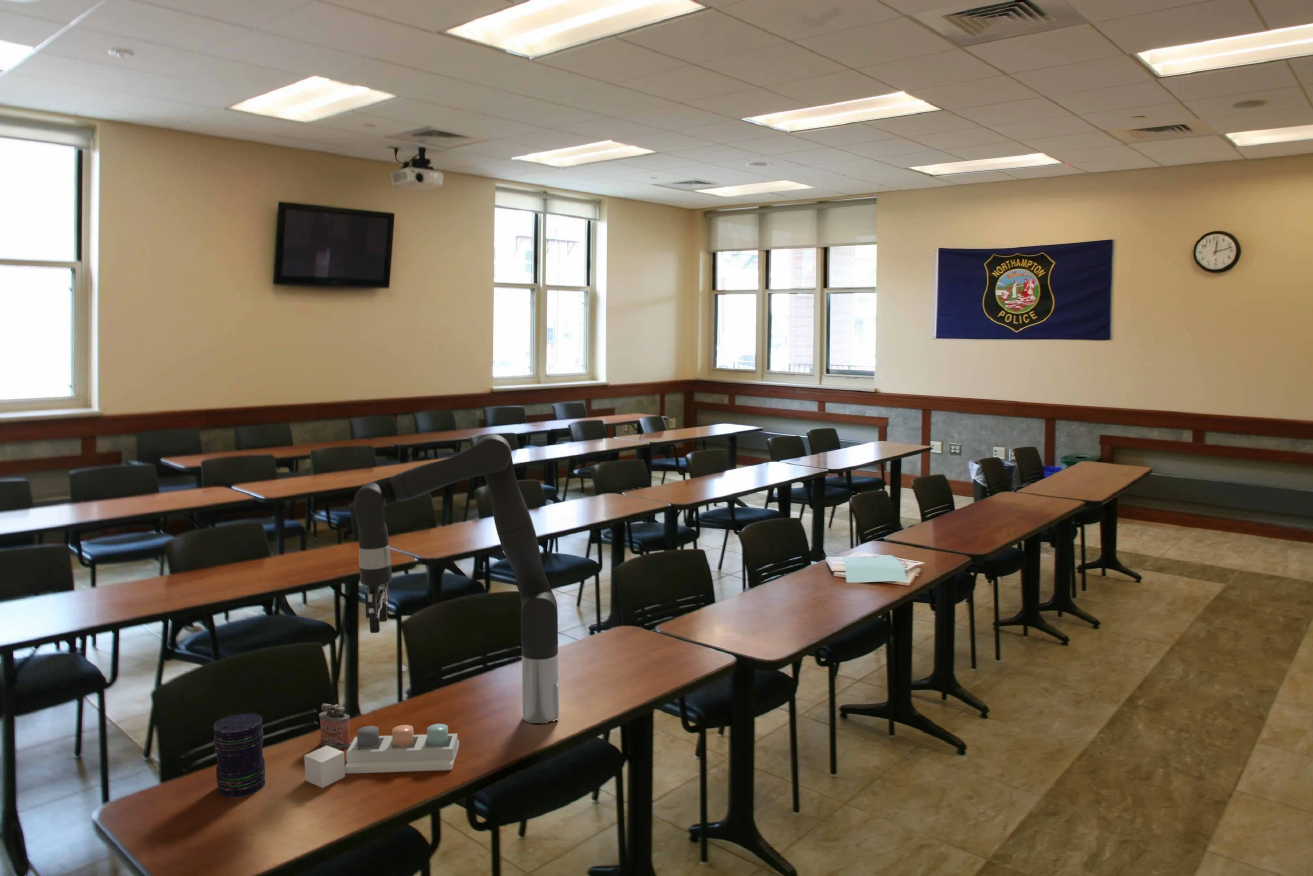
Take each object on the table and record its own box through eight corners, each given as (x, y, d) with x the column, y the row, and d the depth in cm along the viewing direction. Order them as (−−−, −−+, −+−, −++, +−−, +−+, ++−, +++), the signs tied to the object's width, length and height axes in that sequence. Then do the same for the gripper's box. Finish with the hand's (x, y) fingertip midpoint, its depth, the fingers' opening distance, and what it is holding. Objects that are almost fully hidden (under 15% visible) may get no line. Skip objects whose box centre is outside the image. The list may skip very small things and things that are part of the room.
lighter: (353, 744, 225) (352, 704, 224) (345, 750, 222) (343, 710, 220) (326, 739, 227) (324, 700, 226) (317, 745, 224) (315, 705, 223)
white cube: (322, 788, 204) (321, 762, 203) (305, 781, 207) (304, 755, 206) (345, 777, 209) (344, 751, 208) (327, 770, 212) (326, 745, 211)
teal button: (449, 735, 220) (449, 723, 219) (446, 744, 215) (446, 732, 214) (429, 736, 219) (428, 724, 219) (425, 745, 214) (425, 733, 214)
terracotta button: (415, 736, 219) (415, 724, 219) (411, 745, 214) (411, 733, 214) (394, 737, 219) (394, 725, 218) (390, 746, 214) (390, 734, 213)
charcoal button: (381, 737, 218) (380, 725, 218) (376, 747, 214) (376, 734, 213) (360, 738, 218) (359, 726, 218) (355, 747, 213) (354, 735, 213)
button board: (459, 746, 224) (458, 729, 223) (451, 770, 212) (451, 753, 211) (357, 749, 222) (357, 733, 221) (344, 773, 210) (344, 756, 210)
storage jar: (249, 771, 211) (246, 709, 209) (275, 783, 205) (271, 719, 204) (207, 789, 203) (203, 724, 201) (233, 803, 197) (229, 736, 195)
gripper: (383, 571, 222) (388, 635, 224) (396, 555, 236) (400, 617, 238) (352, 572, 222) (356, 637, 224) (366, 557, 236) (370, 618, 238)
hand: (379, 626), depth 231 cm, fingers open, 8 cm apart
